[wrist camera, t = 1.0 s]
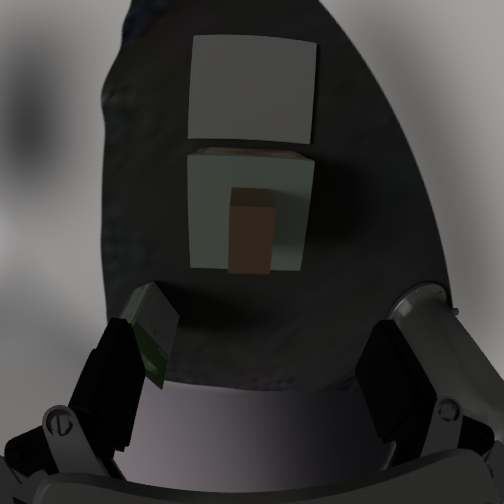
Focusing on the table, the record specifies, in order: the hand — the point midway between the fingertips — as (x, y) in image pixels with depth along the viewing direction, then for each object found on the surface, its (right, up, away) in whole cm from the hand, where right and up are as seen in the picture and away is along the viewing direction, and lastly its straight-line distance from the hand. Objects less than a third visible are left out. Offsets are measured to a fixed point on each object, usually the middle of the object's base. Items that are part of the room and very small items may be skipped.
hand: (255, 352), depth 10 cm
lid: (0, +7, +14) cm, 16 cm away
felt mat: (0, +21, +15) cm, 26 cm away
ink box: (-14, -3, +27) cm, 31 cm away
